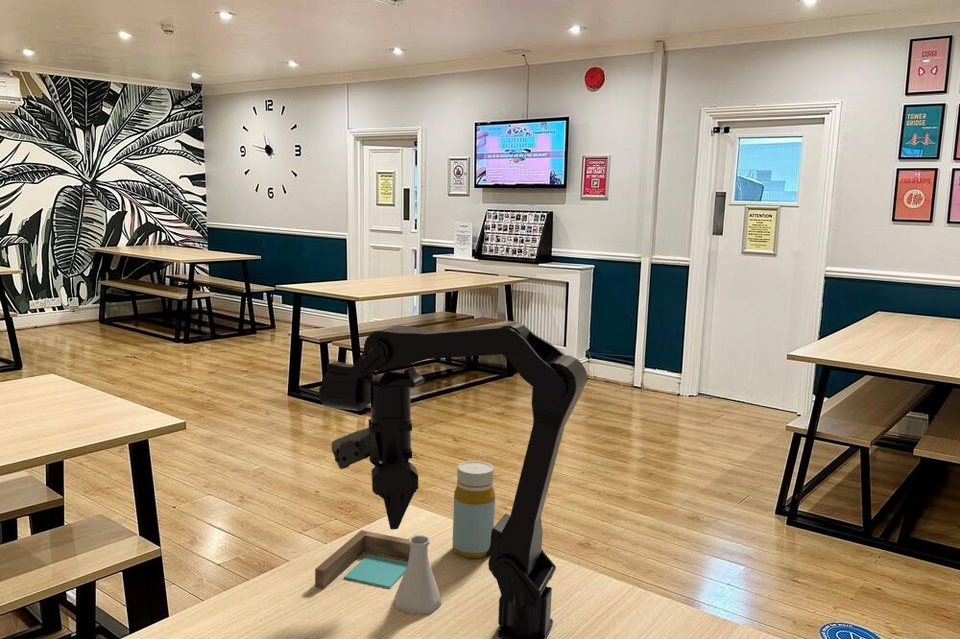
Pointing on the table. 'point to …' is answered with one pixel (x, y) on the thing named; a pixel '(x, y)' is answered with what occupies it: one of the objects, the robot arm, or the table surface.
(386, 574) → the pad
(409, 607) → the flask
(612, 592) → the table surface
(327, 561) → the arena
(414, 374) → the robot arm
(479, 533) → the bottle
